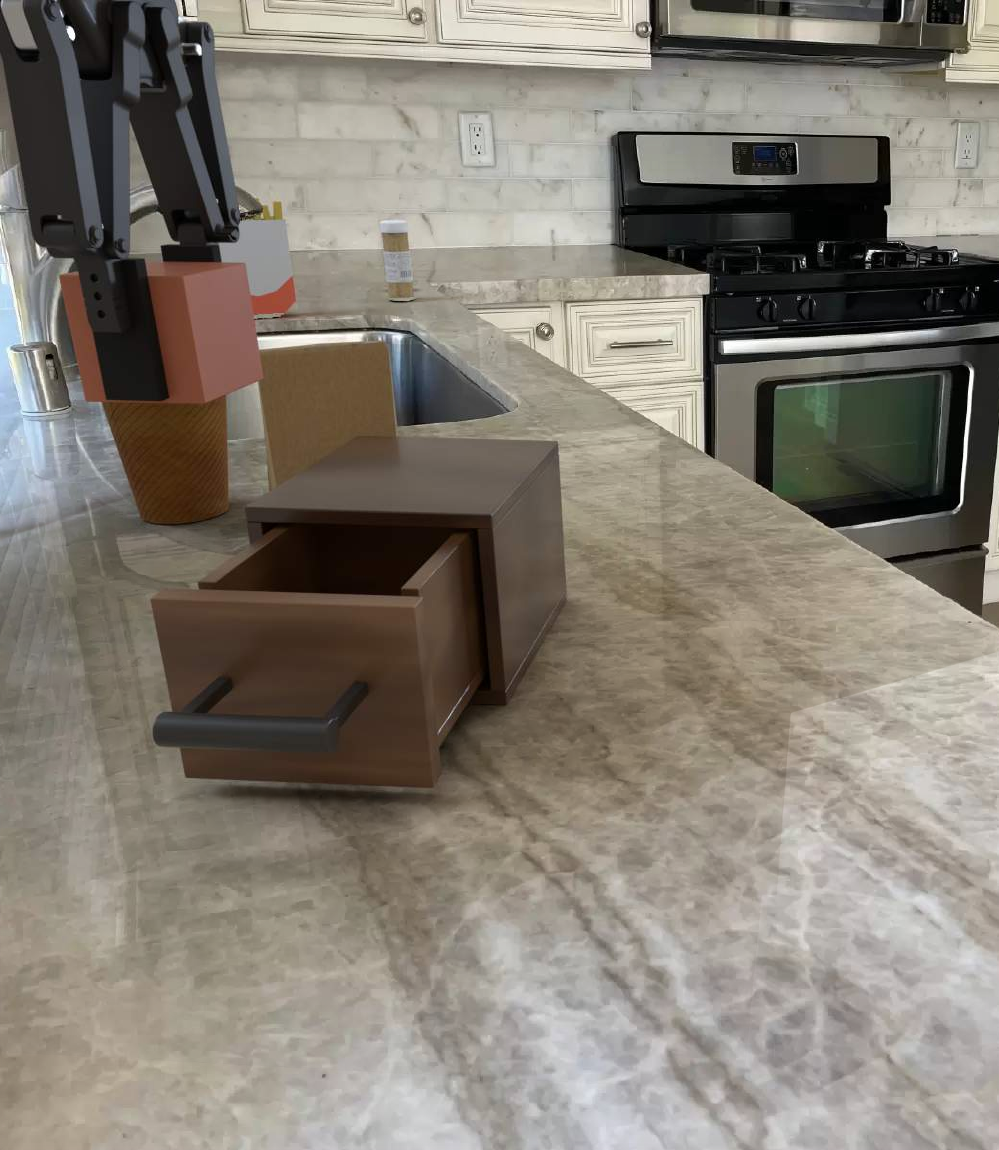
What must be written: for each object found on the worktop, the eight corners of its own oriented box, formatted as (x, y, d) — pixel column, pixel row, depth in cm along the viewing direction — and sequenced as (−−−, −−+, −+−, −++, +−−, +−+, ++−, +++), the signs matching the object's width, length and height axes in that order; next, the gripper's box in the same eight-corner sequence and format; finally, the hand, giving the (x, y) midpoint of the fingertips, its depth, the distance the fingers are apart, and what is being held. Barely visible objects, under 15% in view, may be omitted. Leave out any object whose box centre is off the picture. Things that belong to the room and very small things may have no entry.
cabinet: (506, 705, 60) (491, 514, 57) (273, 696, 61) (243, 507, 57) (567, 600, 74) (558, 440, 70) (376, 593, 75) (356, 435, 71)
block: (84, 402, 55) (57, 274, 53) (154, 377, 61) (132, 261, 59) (204, 404, 55) (182, 276, 53) (264, 379, 61) (246, 262, 58)
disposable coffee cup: (239, 488, 96) (216, 344, 92) (261, 518, 88) (237, 363, 84) (111, 505, 91) (80, 354, 87) (123, 539, 84) (90, 376, 79)
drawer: (394, 853, 46) (369, 657, 43) (121, 841, 47) (77, 646, 44) (513, 659, 64) (501, 508, 60) (312, 651, 64) (290, 502, 61)
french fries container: (219, 317, 180) (200, 197, 174) (291, 312, 186) (276, 196, 179) (224, 321, 177) (205, 199, 170) (298, 316, 182) (282, 197, 176)
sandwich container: (378, 491, 95) (357, 309, 90) (412, 548, 83) (390, 339, 77) (267, 504, 92) (238, 315, 86) (285, 566, 79) (252, 348, 74)
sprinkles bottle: (409, 298, 203) (401, 219, 198) (419, 301, 200) (411, 220, 195) (384, 300, 201) (375, 220, 196) (393, 303, 197) (385, 221, 192)
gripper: (17, -208, 40) (139, 432, 49) (270, -104, 58) (328, 352, 66) (-185, -207, 41) (-29, 427, 49) (127, -104, 59) (203, 349, 67)
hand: (176, 383), depth 58 cm, fingers closed on block, 6 cm apart
